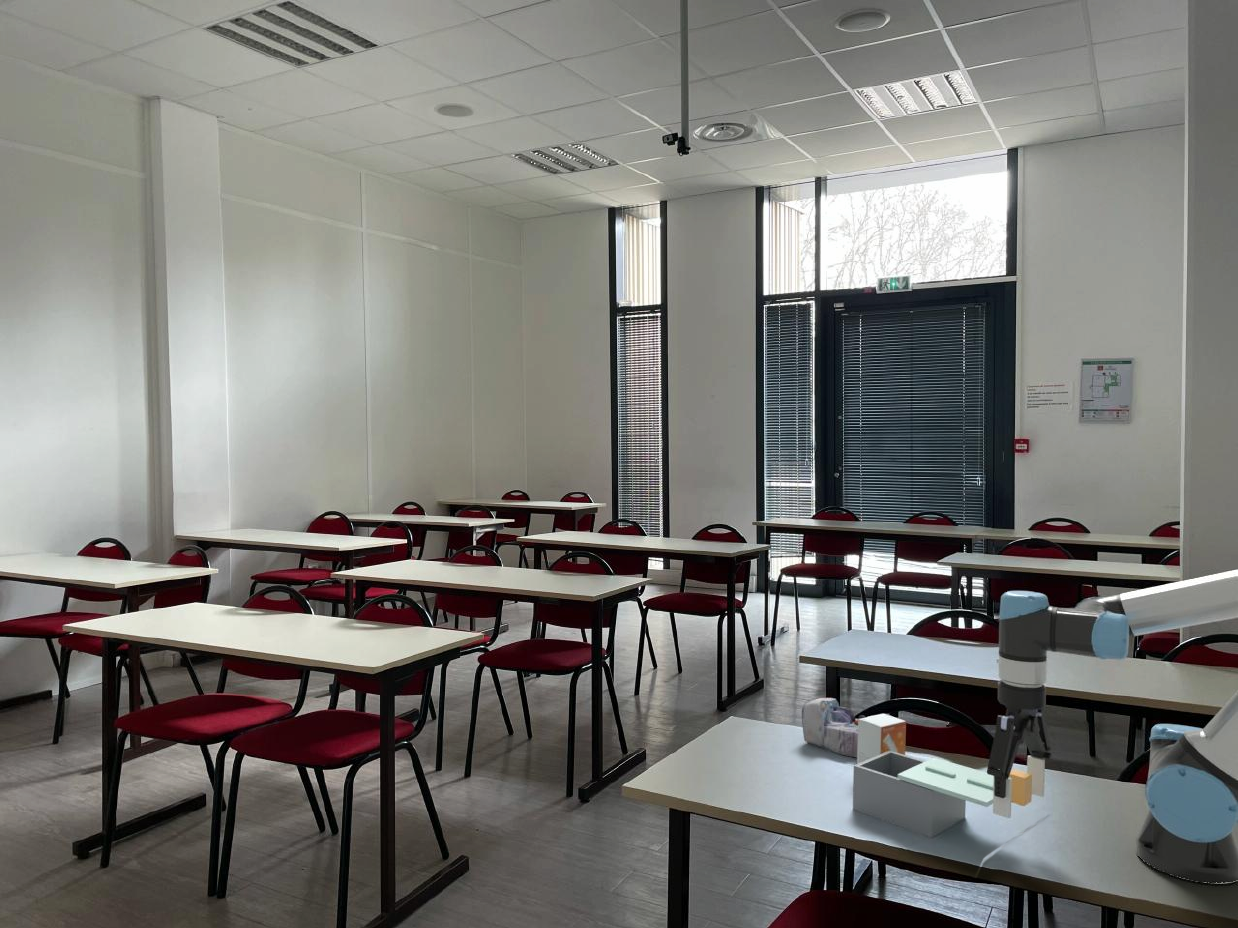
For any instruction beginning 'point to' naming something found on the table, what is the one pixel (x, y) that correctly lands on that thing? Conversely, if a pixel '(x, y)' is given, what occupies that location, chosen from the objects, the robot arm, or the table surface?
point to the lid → (966, 782)
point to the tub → (902, 796)
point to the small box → (880, 736)
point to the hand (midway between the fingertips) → (1019, 804)
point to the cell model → (830, 726)
